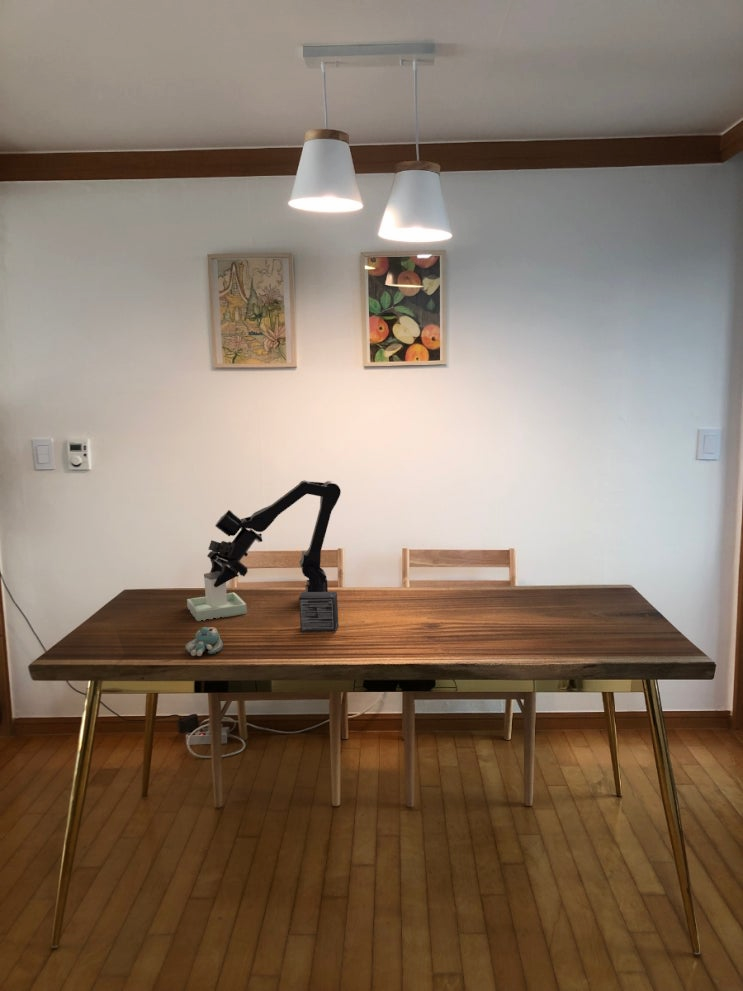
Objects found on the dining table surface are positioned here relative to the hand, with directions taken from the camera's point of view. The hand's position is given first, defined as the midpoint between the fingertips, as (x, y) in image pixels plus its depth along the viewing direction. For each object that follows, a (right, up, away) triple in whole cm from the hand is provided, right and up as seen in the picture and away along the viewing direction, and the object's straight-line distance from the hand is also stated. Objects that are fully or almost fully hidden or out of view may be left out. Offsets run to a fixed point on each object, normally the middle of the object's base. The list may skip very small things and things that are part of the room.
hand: (211, 584), depth 253 cm
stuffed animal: (+5, -15, -34) cm, 38 cm away
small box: (+36, -11, -19) cm, 42 cm away
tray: (+1, -9, +2) cm, 9 cm away
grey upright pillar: (+1, -6, +2) cm, 7 cm away
